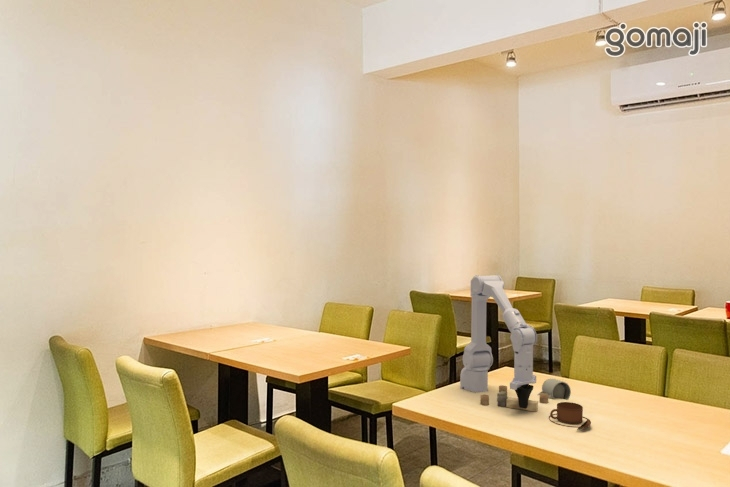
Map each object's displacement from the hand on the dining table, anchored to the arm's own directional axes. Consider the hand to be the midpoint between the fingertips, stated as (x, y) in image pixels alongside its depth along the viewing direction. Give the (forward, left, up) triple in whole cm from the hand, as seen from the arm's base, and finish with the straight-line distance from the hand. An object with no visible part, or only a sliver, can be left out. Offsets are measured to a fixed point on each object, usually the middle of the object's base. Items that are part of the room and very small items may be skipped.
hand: (523, 407), depth 173 cm
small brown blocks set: (-5, +6, -3) cm, 8 cm away
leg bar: (-3, +2, -1) cm, 3 cm away
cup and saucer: (+14, 0, -3) cm, 15 cm away
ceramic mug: (+2, +22, -3) cm, 22 cm away
